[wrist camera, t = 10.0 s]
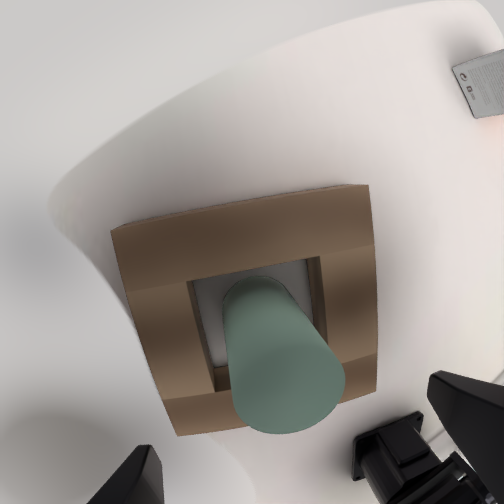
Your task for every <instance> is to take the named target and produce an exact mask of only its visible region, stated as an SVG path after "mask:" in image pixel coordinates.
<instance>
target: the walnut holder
mask: <svg viewBox="0 0 504 504" xmlns="http://www.w3.org/2000/svg"><path fill="white" fill-rule="evenodd" d="M111 236H112V240H113V245H114V249H115V253H116V258H117V262H118V266H119V270H120V273H121V277H122V281H123V285H124V288H125V292H126V296H127V299H128V303H129V306H130V309H131V313H132V316H133V319H134V323H135V326H136V329H137V332H138V335H139V338H140V341H141V344H142V347H143V350H144V353H145V356H146V359H147V362H148V365H149V367H150V370H151V373H152V376H153V378H154V381H155V384H156V386H157V389H158V391H159V394H160V396H161V399H162V401H163V404H164V406H165V409H166V411H167V414H168V416H169V418H170V421H171V423H172V425H173V428H174V430H175V432H176V434H177V436H184V435H194V434H201V433H209V432H216V431H223V430H229V429H235V428H240V427H246V426H248V425H247V424H246V423H244V422H243V421H242V420H241V419H240V417H239V416H238V414H237V413H236V411H235V408H234V404H233V398H232V390H231V383H230V375H229V367H228V366H225V367H219V368H213V364H212V360H211V356H210V353H209V349H208V345H207V341H206V337H205V333H204V329H203V325H202V321H201V317H200V313H199V309H198V304H197V300H196V296H195V292H194V287H193V283H192V280H197V279H202V278H208V277H213V276H218V275H224V274H229V273H234V272H239V271H244V270H249V269H255V268H260V267H265V266H270V265H275V264H280V263H285V262H290V261H295V260H300V259H305V258H307V265H308V273H309V282H310V291H311V300H312V309H313V318H314V327H315V329H316V330H317V331H318V333H319V334H320V335H321V337H322V338H323V340H324V341H325V342H326V344H327V345H328V346H329V348H330V349H331V350H332V352H333V353H334V354H335V356H336V357H337V359H338V360H339V361H340V363H341V365H342V367H343V369H344V373H345V387H344V391H343V394H342V397H341V399H340V401H339V402H338V404H339V403H343V402H346V401H349V400H352V399H355V398H358V397H361V396H364V395H367V394H370V393H373V392H375V391H376V380H377V348H378V313H377V280H376V261H375V246H374V234H373V223H372V213H371V203H370V195H369V187H368V185H341V186H333V187H326V188H319V189H312V190H306V191H299V192H293V193H286V194H280V195H274V196H268V197H262V198H256V199H250V200H244V201H238V202H233V203H227V204H222V205H216V206H211V207H206V208H200V209H195V210H190V211H185V212H180V213H175V214H170V215H165V216H160V217H156V218H151V219H146V220H142V221H137V222H132V223H128V224H124V225H122V226H119V227H117V228H115V229H113V230H111Z"/></svg>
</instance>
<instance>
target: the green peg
mask: <svg viewBox="0 0 504 504" xmlns="http://www.w3.org/2000/svg"><path fill="white" fill-rule="evenodd" d="M222 315H223V324H224V333H225V342H226V350H227V358H228V367H229V375H230V383H231V390H232V398H233V404H234V408H235V411H236V413H237V414H238V416H239V417H240V419H241V420H242V421H243V422H244V423H246V424H247V425H248V426H250V427H251V428H253V429H255V430H258V431H261V432H264V433H269V434H288V433H294V432H298V431H301V430H304V429H307V428H309V427H311V426H313V425H315V424H317V423H318V422H320V421H321V420H323V419H324V418H325V417H326V416H327V415H328V414H330V413H331V412H332V410H333V409H334V408H335V407H336V405H337V404H338V402H339V401H340V399H341V397H342V394H343V391H344V387H345V373H344V369H343V367H342V365H341V363H340V361H339V360H338V359H337V357H336V356H335V354H334V353H333V352H332V350H331V349H330V348H329V346H328V345H327V344H326V342H325V341H324V340H323V338H322V337H321V335H320V334H319V333H318V331H317V330H316V329H315V327H314V326H313V325H312V323H311V322H310V321H309V319H308V318H307V316H306V315H305V314H304V312H303V311H302V310H301V308H300V307H299V306H298V304H297V303H296V302H295V300H294V299H293V298H292V296H291V295H290V293H289V292H288V291H287V289H286V288H285V287H284V286H283V285H282V284H281V283H280V282H278V281H276V280H275V279H272V278H269V277H265V276H254V277H249V278H246V279H243V280H241V281H240V282H238V283H237V284H235V285H234V286H233V287H232V288H231V289H230V290H229V292H228V293H227V295H226V297H225V299H224V302H223V307H222Z"/></svg>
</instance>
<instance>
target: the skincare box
mask: <svg viewBox="0 0 504 504" xmlns="http://www.w3.org/2000/svg"><path fill="white" fill-rule="evenodd" d="M453 71H454V73H455V75H456V77H457V79H458V81H459V83H460V85H461V87H462V90H463V92H464V94H465V96H466V98H467V100H468V103H469V105H470V107H471V110H472V112H473V115H474V116H475V118H482V117H489V116H495V115H502V114H504V49H502V50H499V51H496V52H493V53H489V54H486V55H483V56H481V57H478V58H475V59H473V60H470V61H467V62H465V63H462V64H460V65H457V66H455V67H453Z"/></svg>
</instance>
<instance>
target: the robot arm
mask: <svg viewBox="0 0 504 504" xmlns="http://www.w3.org/2000/svg"><path fill="white" fill-rule="evenodd" d="M427 397H428V400H429V402H430V403H431V405H432V407H433V409H434V410H435V412H436V414H437V416H438V417H439V419H440V421H441V423H442V424H443V426H444V428H445V429H446V431H447V432H448V434H449V435H450V437H451V438H452V439H453V441H454V442H455V444H456V445H457V446H458V448H459V449H460V450H461V452H462V453H463V455H464V456H465V457H466V459H467V460H468V462H469V463H470V464H471V466H472V467H473V469H474V470H475V471H474V470H473V469H472V468H471V467H470V466H469V465H468V464H467V463H466V462H465V461H464V460H463V459H462V458H461V456H460V455H459V454H458V453H457V452H456V451H454V452H453V453H452V454H450V457H448V458H447V459H446V460H445V461H444V462H441V461H440V460H439V458H438V457H437V456H436V455H435V453H434V452H433V451H432V450H431V448H430V446H429V445H428V444H427V442H426V441H425V440H424V439H423V438H422V436H421V435H420V431H421V426H422V422H423V417H424V415H423V414H422V413H421V412H417V413H415V414H412V415H410V416H408V417H406V418H403V419H401V420H399V421H396V422H394V423H391V424H389V425H386V426H384V427H381V428H379V429H376V430H373V431H371V432H368V433H365V434H362V435H360V436H358V437H356V438H355V440H354V449H353V464H352V479H353V481H358V480H361V479H364V478H366V479H367V481H368V483H369V485H370V487H371V489H372V490H373V492H374V494H375V496H376V498H377V500H378V501H379V503H380V504H496V503H497V504H504V386H501V385H497V384H493V383H489V382H485V381H480V380H476V379H473V378H469V377H465V376H461V375H457V374H453V373H450V372H446V371H442V370H440V371H437V372H435V373H433V374H431V375H430V377H429V383H428V389H427ZM461 476H463V478H462V479H460V480H459V481H458V480H457V479H459V478H460V477H461ZM87 504H164V490H163V475H162V464H161V461H160V459H159V457H158V455H157V454H156V452H155V450H154V448H153V447H152V445H149V444H148V445H138V446H137V447H136V448H135V449H134V451H133V452H132V453H131V454H130V455H129V456H128V457H127V459H126V460H125V461H124V462H123V463H122V464H121V466H120V467H119V468H118V469H117V470H116V471H115V472H114V474H113V475H112V476H111V477H110V478H109V479H108V480H107V482H106V483H105V484H104V485H103V486H102V487H101V488H100V489H99V491H98V492H97V493H96V494H95V495H94V496H93V497H92V498H91V499H90V501H89V502H88V503H87Z"/></svg>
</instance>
